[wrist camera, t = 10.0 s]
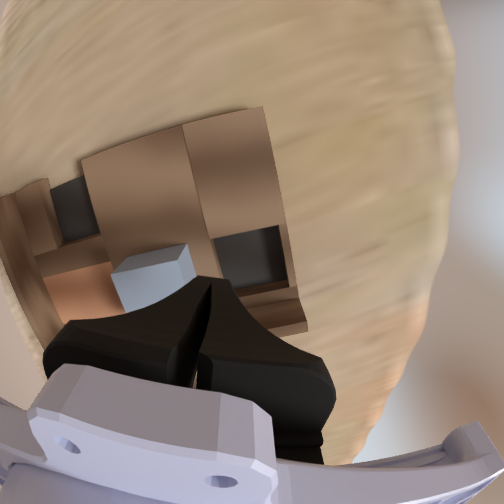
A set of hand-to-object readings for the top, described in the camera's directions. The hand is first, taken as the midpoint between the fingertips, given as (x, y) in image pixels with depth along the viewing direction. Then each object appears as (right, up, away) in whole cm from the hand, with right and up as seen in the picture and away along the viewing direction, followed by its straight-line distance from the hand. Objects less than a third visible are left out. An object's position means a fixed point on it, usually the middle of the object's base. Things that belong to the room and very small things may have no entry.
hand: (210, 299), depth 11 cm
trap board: (-6, +3, +9) cm, 11 cm away
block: (-4, 0, +8) cm, 9 cm away
